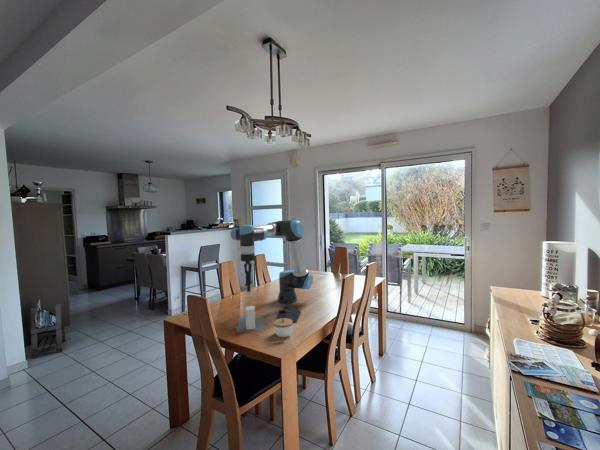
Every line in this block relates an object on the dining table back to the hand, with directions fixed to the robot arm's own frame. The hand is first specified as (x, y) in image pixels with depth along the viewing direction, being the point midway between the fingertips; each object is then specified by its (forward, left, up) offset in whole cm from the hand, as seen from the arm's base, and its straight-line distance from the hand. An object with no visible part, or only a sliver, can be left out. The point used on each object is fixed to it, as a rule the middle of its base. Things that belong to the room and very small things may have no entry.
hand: (249, 295), depth 148 cm
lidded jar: (-18, +3, -23) cm, 29 cm away
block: (0, -10, -22) cm, 24 cm away
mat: (0, -16, -23) cm, 28 cm away
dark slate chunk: (-24, -25, -23) cm, 41 cm away
